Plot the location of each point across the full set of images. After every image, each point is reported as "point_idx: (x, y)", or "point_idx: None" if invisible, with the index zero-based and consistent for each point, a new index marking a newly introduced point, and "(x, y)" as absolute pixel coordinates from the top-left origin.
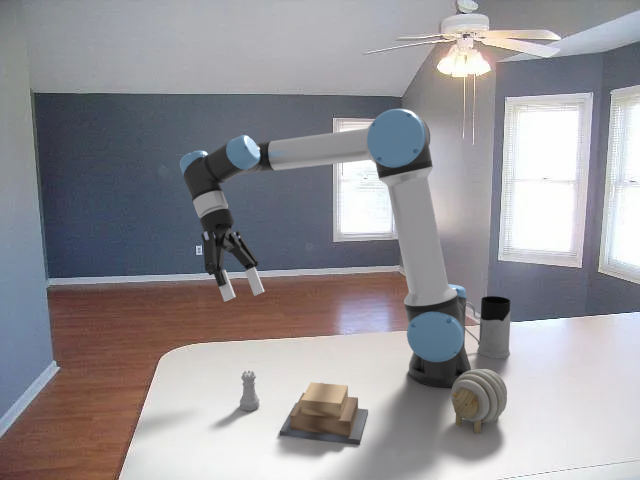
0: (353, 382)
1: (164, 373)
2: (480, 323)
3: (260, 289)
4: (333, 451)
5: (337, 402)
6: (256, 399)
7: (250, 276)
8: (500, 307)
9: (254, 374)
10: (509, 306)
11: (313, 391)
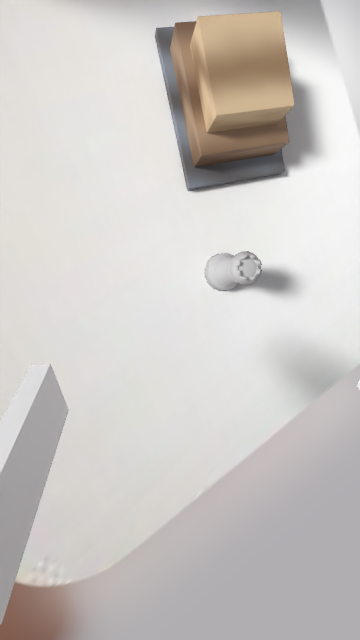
0: (28, 107)
1: (172, 507)
2: None
3: (48, 387)
4: None
5: (279, 20)
6: (226, 255)
7: (15, 526)
8: None
9: (236, 258)
10: None
11: (253, 91)
